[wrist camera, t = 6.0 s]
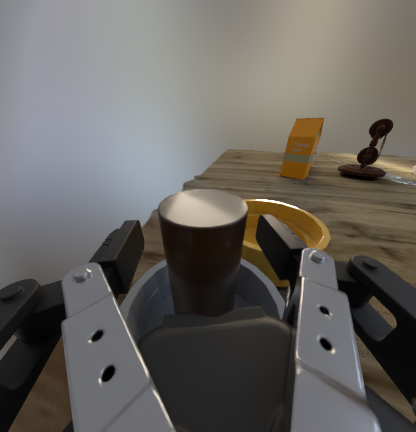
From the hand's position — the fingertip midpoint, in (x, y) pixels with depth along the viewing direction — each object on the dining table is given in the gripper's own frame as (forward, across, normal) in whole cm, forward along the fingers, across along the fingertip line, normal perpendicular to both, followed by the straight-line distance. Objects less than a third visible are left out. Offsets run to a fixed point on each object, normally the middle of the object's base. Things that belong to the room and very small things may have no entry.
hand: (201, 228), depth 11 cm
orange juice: (+51, -42, +11) cm, 67 cm away
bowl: (+9, -10, +11) cm, 18 cm away
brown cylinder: (-2, 0, +10) cm, 10 cm away
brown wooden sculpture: (+49, -68, +11) cm, 85 cm away
